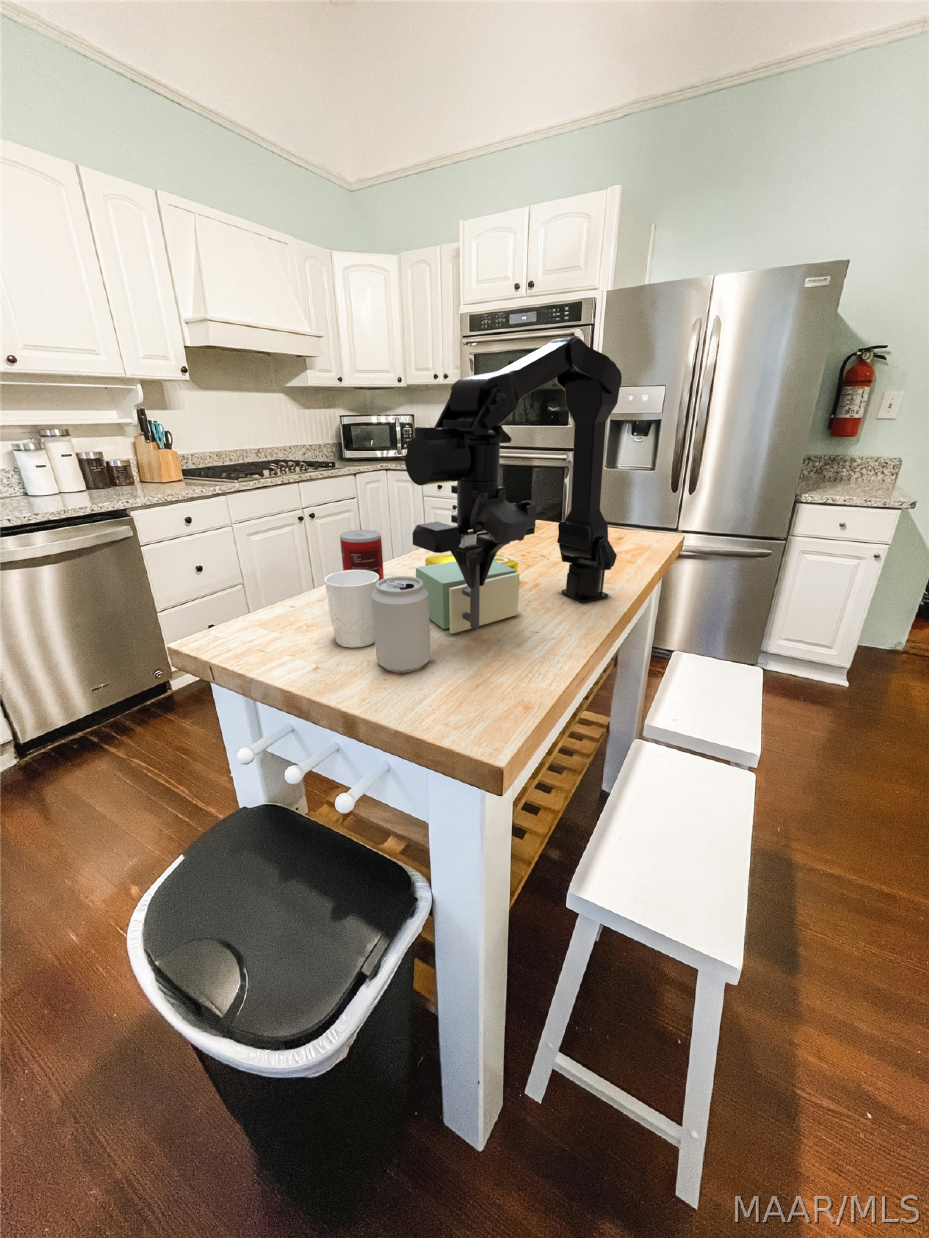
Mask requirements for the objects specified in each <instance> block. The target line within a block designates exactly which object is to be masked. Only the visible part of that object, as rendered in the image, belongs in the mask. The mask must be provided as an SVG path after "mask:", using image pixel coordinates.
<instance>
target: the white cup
mask: <svg viewBox="0 0 929 1238" xmlns="http://www.w3.org/2000/svg"><path fill="white" fill-rule="evenodd" d="M378 581H379V575H378V574H377V573H375V572H372V571H367V570H347V571H343V570H341V571H336V572H333V573H331V574H329V575H327V576H326V577H325V578H324V585H325V591H326V598H327V602H328V610H329V615H330V619H331V625H332V627H333V630H334V638H335V643H336V644H337V645H338V646H339V645H340V647H343V648H344V647H345V648H351V649H352V648H364V647H367V646H371V645H373V644H374V643H375V632H374V619H373V606H372V594H373V592H374V591H375V590H376V589H377V588H376V583H377V582H378Z"/></svg>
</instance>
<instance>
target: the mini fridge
mask: <svg viewBox="0 0 929 1238" xmlns="http://www.w3.org/2000/svg"><path fill="white" fill-rule="evenodd" d="M512 573H516V570H515V569H513V568H510V567H508V566H506V565H503V564H501V563H499V562H497V561H494V560H493V562H492V565H491V567H490V570H489V572H488V575H487V578H486V580H487V579H491V578H495V577H500V576H504V575H508V574H512ZM415 578H418V579H420V580H422V582H423V587H424V588H425V589H426V590H427V592H428V597H429V620H431V621H432V622H433V623H434V624H436V625H437V626H439V627H440V628H441V629H442V630H447V629H450V618H449V588H452V587H457V586H461V585H465V584H467V583H466V581H465V579H464V577H463V575H462V573H461V570H460V568H459V566H458V564H457V562H456V561H453V562H446V563H440V564H434V565H428V566H425V565H424V566H422V565H421V566H416V567H415Z"/></svg>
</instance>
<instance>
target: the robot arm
mask: <svg viewBox="0 0 929 1238" xmlns="http://www.w3.org/2000/svg"><path fill="white" fill-rule="evenodd" d="M622 379H623V376H622V372H621V369H620V368H619V367H618V366H617V363H616V362H615V361H613V360H612V359H611V358H610V357H609V356H607V355H606V354H604V353H602V352H600V351H598V350H596V349H594V348H592V347H590V346H588V344H586V342H585V341H584V340H583V339H582V338H578V337H576V336H571V337H570V336H569V337H563V338H562V337H561V338H555V339H552V340H550V341H549V342H548V343H546V345H544V346H542V347H541V348H538V349H537V350H534V351H532V352H531V353H529V354H527V355H526V356H523V357H522V358H520V359H518V360H516V361H514V362H513V363H510V364H509V365H507V366H505V367H503V368H502V369H499V370H496V371H492V372H487V373H481V374H475V375H471V376H467V377H462V378H460V379H458V380H456V381H455V382H454V383H452V385H451V387H450V394H449V398H448V400H447V401H446V404H445V406H444V407H443V410H442V412H441V413H440V415H439V417H438V419H437V421H436V423H435V425H434V427H432V426H415V427H414V428H413V429H414V437H413V438H412V439H411V440H410V441H409V443H408V445H407V448H406V453H405V454H404V464H405V465H404V466H405V469H406V473H407V475H408V478H410V480H411V482H412V483H414V484H415V485H417V486H429V485H438V484H447V483H456V484H453V485H451V486H450V489H451V490H450V493H451V494H454V495H456V514H451V515H450V519H451V520H450V523H453V524H456V525H451V524H447V523H443V522H441V521H440V522H439V521H431V522H426V523H419V524H416V525H415V527H414V528H413V530H412V532H411V533H412V546H415V547H418V548H421V549H423V550H426V551H428V552H432V553H435V554H445V553H449V552H450V553H452V555H453V556H454V558H455V560H456V562H457V564H458V566H459V568H460V570H461V573H462V575H463V577H464V579H465V581H466V583H467V586H468V587H469V588H471V589H473V588H474V587H475V581H476V563H479V564H480V586H483V585H484V583H485V580H486V578H487V575H488V572H489V570H490V567H491V565H492V562H493V560H494V558H495V556H496V554H497V553H498V552H499V551H500V550H502V548H504V547H505V546H507V545H509V544H510V543H511V542H516V541H518V542H521V541H522V542H523V541H524V539H525V536H530V535H534V534H535V532H536V525H537V524H536V521H537V518H538V513H537V511H538V510H537V504H536V503H535V502H533V501H532V500H524V501H523V500H522V501H520V502H518V503H517V502H513V503H511V502H509V501H508V500H507V491H506V487H504V486H499V483H500V462H501V461H500V458H501V457H500V456H501V444H510V443H511V442H512V439H513V438H512V437H511V435H509V434H508V432H506V431H505V430H504V428H503V426H502V423H504V422H505V421H506V420H507V419H508V418H509V417H510V416H511V415H512V414H514V412H515V411H516V410H517V408H518V406H519V403H520V401H521V400H522V399H524V397H526V396H527V395H530V393H533V392H534V391H536V390H537V389H539V388H541V387H542V386H544V385H546V384H548V383H549V382H551V381H553V380H554V382H555V383H556V384H557V385H558V386H559V387H560V388H561V389H562V390H563V391H564V396H565V397H564V399H565V401H564V402H565V407H566V410H567V411H568V414H569V415H570V417H571V419H572V421H573V424H574V429H573V430H574V431H573V450H572V451H573V452H572V471H571V472H572V473H571V474H572V476H571V494H570V495H571V496H570V510H569V513H568V514H567V515H566V516H565V518H564V520H560V521H559V522H558V525H557V530H558V535H557V536H558V538H557V540H556V543H557V544H558V548H559V552H560V556H561V562H562V563H568V572H567V573H566V584H565V589H561V590H560V591H561V594H562V595H565V596H568V597H570V598H572V599H574V600H576V601H578V602H580V603H588V602H593V601H597V600H602V599H606V598H609V596H610V595H609V593H607V592H605V591H604V582H605V573H606V571H610V570H612V568H613V567H614V566H615V563H616V561H617V560H616V559H617V557H618V555H617V553H616V551H615V550H614V548H613V546H612V544H611V542H610V540H609V526H608V522H607V521H606V519H605V517H604V515H603V514H602V511H601V499H602V498H601V497H602V484H603V483H602V482H603V468H604V455H605V454H604V452H605V451H604V450H605V440H606V439H605V437H606V426H607V425H606V424H607V420H608V419H609V417H610V416H611V415H612V413H613V411H614V409H615V408H616V406H617V404H618V401H619V394H620V389H621V386H622V381H623V380H622Z"/></svg>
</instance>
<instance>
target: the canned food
mask: <svg viewBox="0 0 929 1238" xmlns="http://www.w3.org/2000/svg"><path fill="white" fill-rule="evenodd" d="M339 537H340V538H339V541H340V552H341V562H342V571H347V570H367V571H372V572H375V573H377V574H378V575H379V581H380V580H382V579H385V577H384V576H385V575H384V573H385V572H384V557H383V543H382V534H381V532H380V531H376V530H372V529H353V530H347V531H344V532H342V533H341V534H340V535H339Z"/></svg>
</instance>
